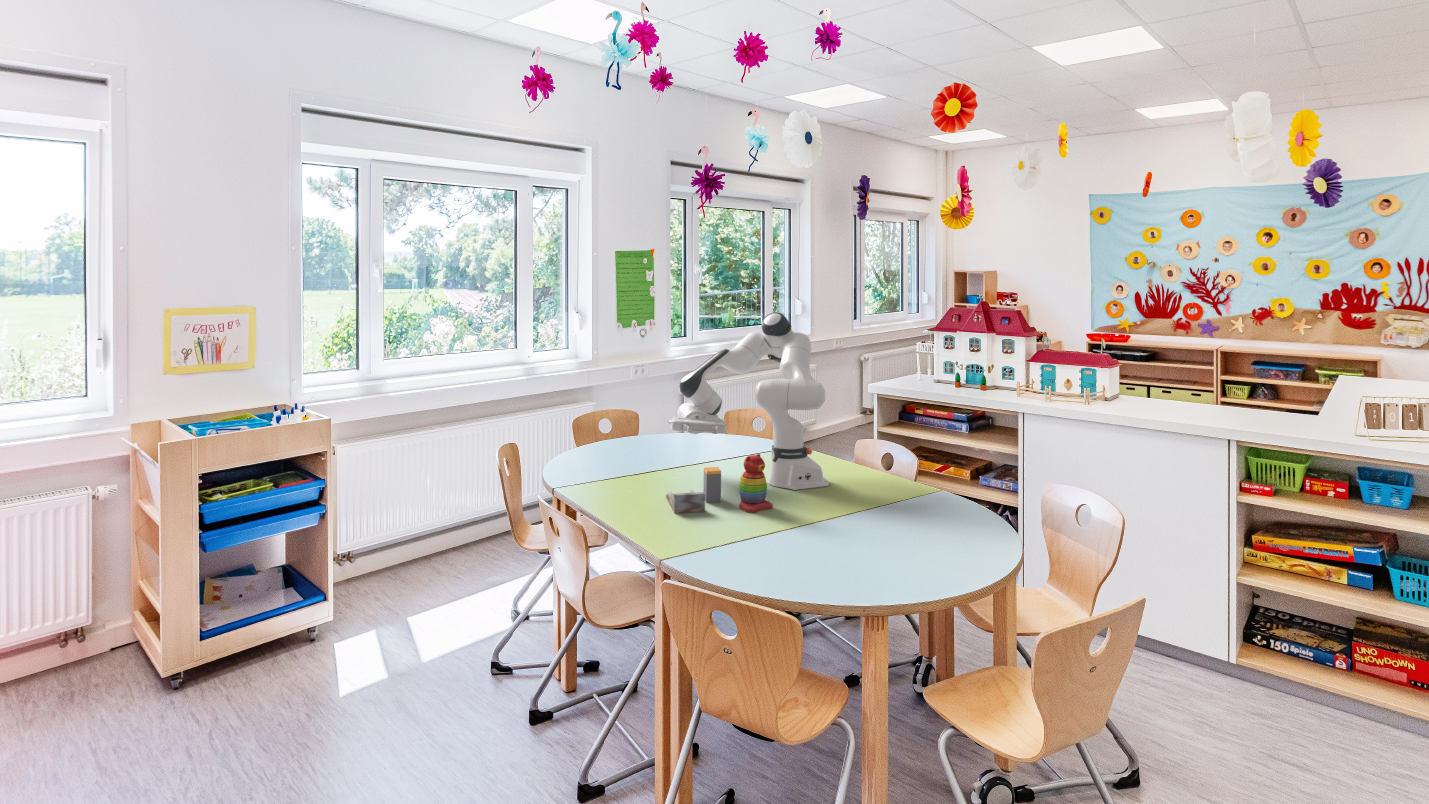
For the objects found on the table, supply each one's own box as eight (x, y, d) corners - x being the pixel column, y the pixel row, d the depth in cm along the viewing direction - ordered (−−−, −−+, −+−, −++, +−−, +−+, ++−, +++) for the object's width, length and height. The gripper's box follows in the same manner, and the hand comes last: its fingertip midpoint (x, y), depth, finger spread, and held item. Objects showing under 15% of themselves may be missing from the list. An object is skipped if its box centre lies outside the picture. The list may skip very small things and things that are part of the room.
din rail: (694, 495, 268) (694, 479, 267) (704, 511, 250) (704, 493, 249) (666, 497, 266) (666, 480, 265) (674, 513, 248) (674, 495, 247)
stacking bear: (750, 513, 249) (751, 460, 246) (731, 506, 257) (732, 454, 254) (775, 508, 255) (776, 456, 252) (756, 500, 263) (757, 450, 260)
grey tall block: (717, 497, 266) (718, 467, 264) (720, 501, 261) (721, 470, 259) (703, 498, 265) (703, 467, 263) (706, 502, 260) (706, 471, 258)
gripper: (668, 411, 282) (675, 420, 269) (721, 414, 287) (731, 424, 274) (666, 428, 283) (673, 437, 270) (719, 431, 288) (728, 440, 275)
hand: (702, 430), depth 272 cm, fingers open, 8 cm apart
